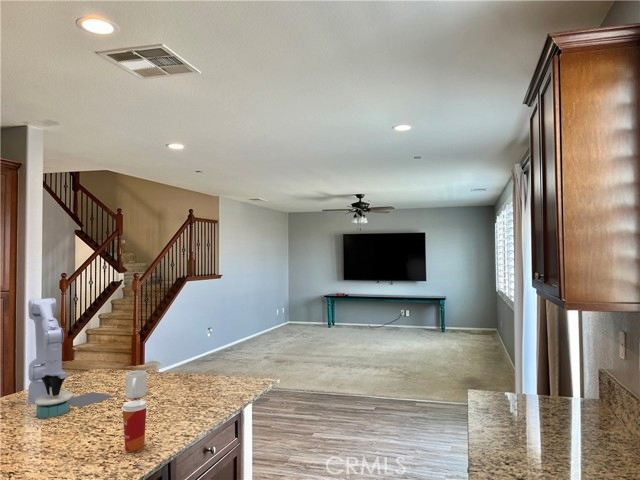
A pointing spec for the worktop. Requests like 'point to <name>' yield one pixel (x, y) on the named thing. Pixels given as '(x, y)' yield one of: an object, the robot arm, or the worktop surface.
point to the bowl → (52, 410)
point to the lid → (53, 398)
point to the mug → (136, 384)
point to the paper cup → (134, 424)
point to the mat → (88, 399)
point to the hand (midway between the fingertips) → (53, 394)
